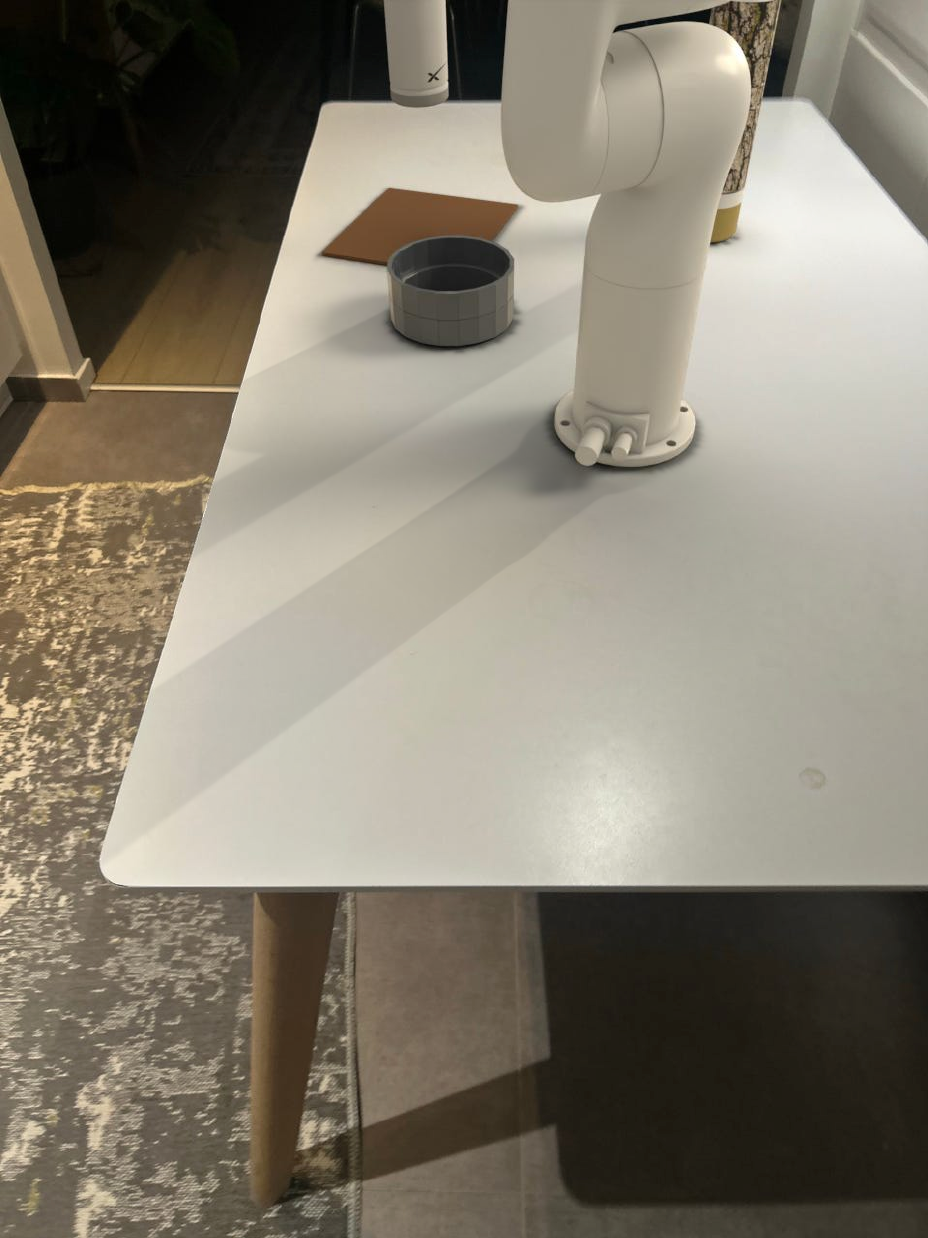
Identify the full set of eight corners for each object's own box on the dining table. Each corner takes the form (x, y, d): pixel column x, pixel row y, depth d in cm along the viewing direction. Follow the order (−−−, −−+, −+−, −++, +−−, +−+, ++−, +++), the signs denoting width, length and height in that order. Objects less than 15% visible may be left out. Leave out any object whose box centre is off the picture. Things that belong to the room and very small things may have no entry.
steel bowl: (489, 357, 93) (489, 301, 88) (372, 336, 96) (366, 281, 92) (528, 298, 101) (530, 244, 97) (419, 281, 104) (416, 228, 100)
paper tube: (719, 249, 108) (765, -1, 90) (668, 235, 111) (703, -10, 93) (745, 229, 112) (794, -16, 94) (694, 215, 115) (733, -24, 97)
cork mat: (464, 277, 105) (464, 273, 104) (321, 255, 109) (321, 251, 109) (518, 207, 118) (518, 204, 117) (389, 190, 122) (388, 187, 122)
